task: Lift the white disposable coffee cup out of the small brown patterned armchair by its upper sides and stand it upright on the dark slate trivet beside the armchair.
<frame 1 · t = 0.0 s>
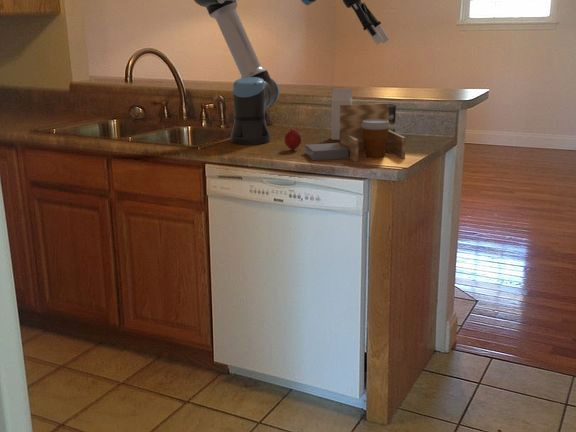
hand: (383, 42, 240), 36 cm above the worktop, tool tilted 35°, fingers open, 13 cm apart
brown patterned armchair: (371, 154, 224), on the worktop
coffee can: (380, 144, 243), on the worktop
onion: (292, 150, 233), on the worktop
milk carton: (341, 139, 255), on the worktop
trivet: (326, 155, 223), on the worktop
disposable coffee cup: (374, 157, 220), on the worktop
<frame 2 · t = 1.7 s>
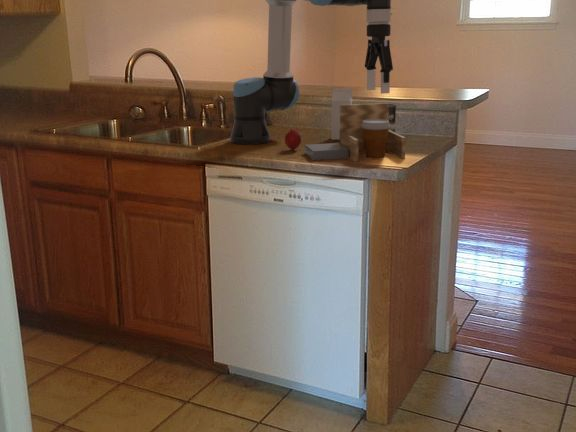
hand: (377, 91, 215), 21 cm above the worktop, tool pointing down, fingers open, 13 cm apart
nothing on the worktop moved.
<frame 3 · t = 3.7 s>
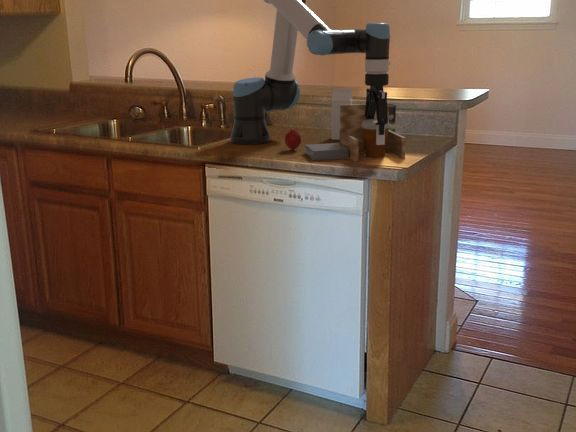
hand: (375, 141, 218), 5 cm above the worktop, tool pointing down, fingers closed on disposable coffee cup, 9 cm apart
disposable coffee cup: (375, 157, 220), on the worktop, touching gripper
everything else where it was.
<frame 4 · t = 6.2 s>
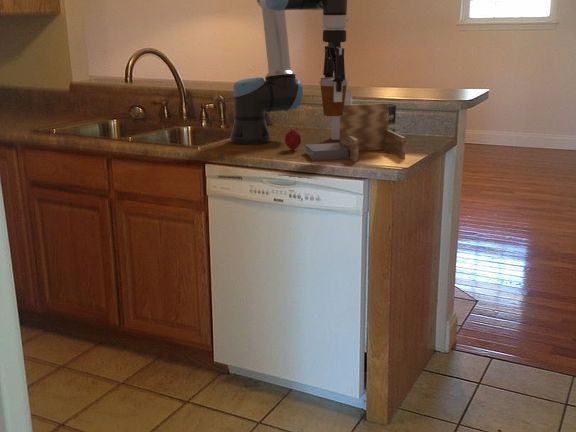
hand: (333, 99, 218), 19 cm above the worktop, tool pointing down, fingers closed on disposable coffee cup, 9 cm apart
disposable coffee cup: (333, 115, 220), point 13 cm above the worktop, touching gripper
everything else where it was.
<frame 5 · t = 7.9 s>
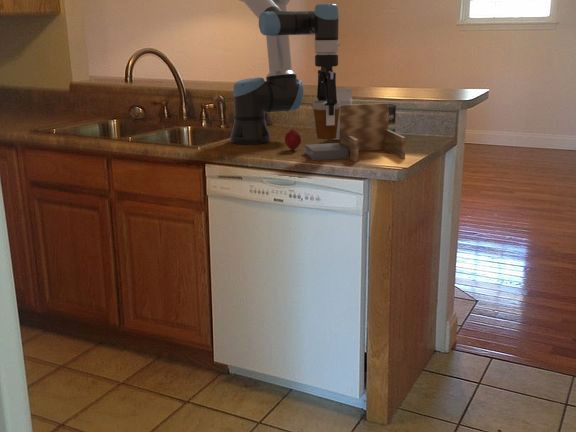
hand: (326, 123, 220), 11 cm above the worktop, tool pointing down, fingers closed on disposable coffee cup, 9 cm apart
disposable coffee cup: (326, 138, 221), point 6 cm above the worktop, touching gripper
everything else where it was.
when the fingers open (9 cm above the worktop, at t = 8.8 s): disposable coffee cup drops 1 cm, resting on trivet.
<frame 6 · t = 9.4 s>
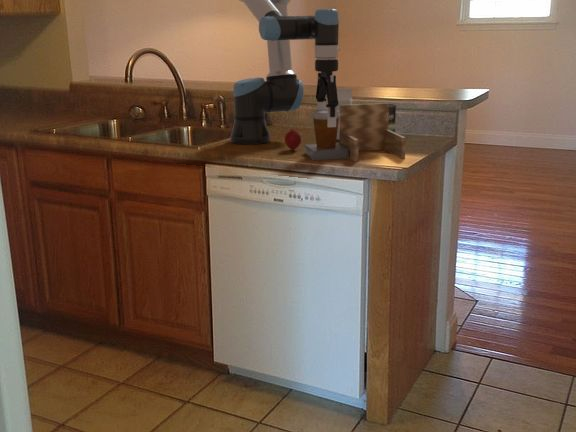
hand: (326, 124, 220), 11 cm above the worktop, tool pointing down, fingers open, 13 cm apart
disposable coffee cup: (326, 147, 223), point 3 cm above the worktop, touching trivet
everything else where it was.
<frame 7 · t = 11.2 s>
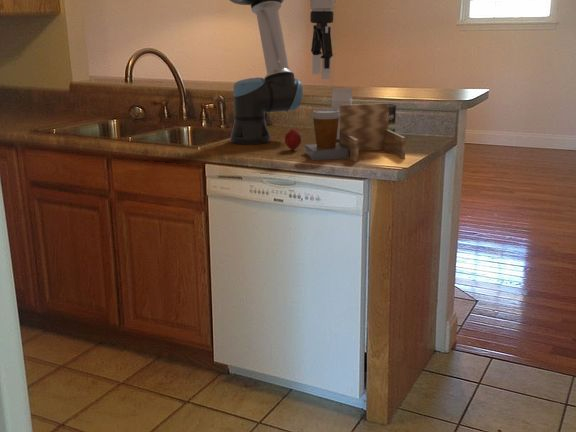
hand: (321, 76, 222), 26 cm above the worktop, tool pointing down, fingers open, 13 cm apart
nothing on the worktop moved.
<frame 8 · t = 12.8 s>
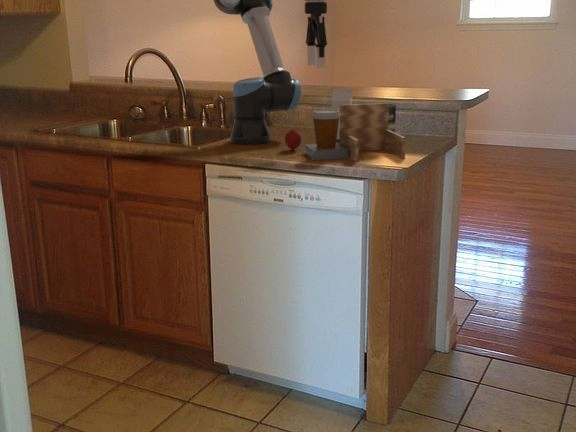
hand: (316, 66, 229), 29 cm above the worktop, tool pointing down, fingers open, 13 cm apart
nothing on the worktop moved.
at the end: disposable coffee cup inside the target area on the trivet (0.1 cm from its centre), point 2.8 cm above the trivet's base; disposable coffee cup tilted 0°; the gripper is holding nothing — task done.
